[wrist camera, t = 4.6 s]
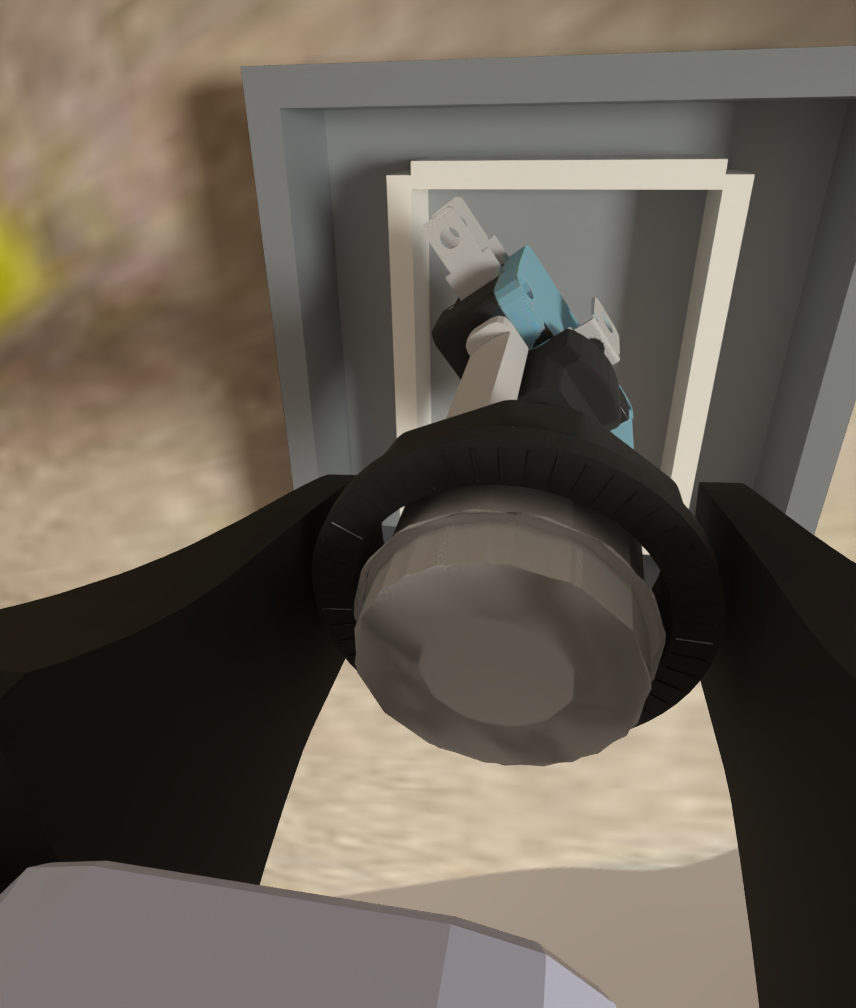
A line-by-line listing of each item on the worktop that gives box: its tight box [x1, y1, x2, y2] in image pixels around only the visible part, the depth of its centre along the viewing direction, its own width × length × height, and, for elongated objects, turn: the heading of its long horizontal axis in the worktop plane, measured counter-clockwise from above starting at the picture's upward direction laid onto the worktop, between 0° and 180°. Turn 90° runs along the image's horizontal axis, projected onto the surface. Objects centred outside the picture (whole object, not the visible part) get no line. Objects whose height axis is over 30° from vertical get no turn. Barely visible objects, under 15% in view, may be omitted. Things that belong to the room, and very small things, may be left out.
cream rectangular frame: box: [386, 155, 755, 555], centre depth 19 cm, size 8×10×2 cm
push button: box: [312, 196, 725, 766], centre depth 12 cm, size 7×5×10 cm
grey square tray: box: [241, 46, 856, 589], centre depth 18 cm, size 14×14×4 cm
